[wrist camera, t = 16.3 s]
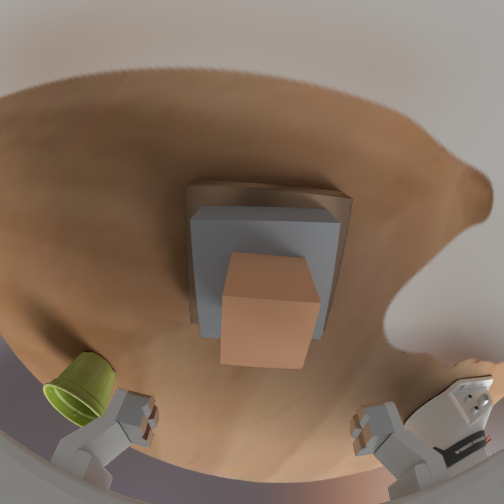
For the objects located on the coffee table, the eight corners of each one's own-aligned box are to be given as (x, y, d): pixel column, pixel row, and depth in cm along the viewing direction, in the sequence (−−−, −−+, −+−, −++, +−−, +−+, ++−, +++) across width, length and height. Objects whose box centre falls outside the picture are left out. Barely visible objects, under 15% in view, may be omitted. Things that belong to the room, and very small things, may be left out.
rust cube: (304, 257, 17) (321, 302, 12) (293, 316, 18) (302, 369, 14) (232, 251, 17) (222, 295, 12) (228, 311, 18) (220, 364, 14)
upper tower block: (326, 208, 19) (340, 223, 16) (313, 312, 22) (321, 339, 19) (201, 206, 19) (190, 219, 16) (208, 310, 23) (201, 337, 19)
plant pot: (68, 364, 32) (44, 403, 24) (73, 329, 28) (41, 373, 20) (119, 395, 33) (101, 438, 25) (133, 366, 30) (110, 418, 22)
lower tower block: (339, 190, 22) (352, 199, 19) (317, 309, 27) (324, 331, 23) (196, 178, 22) (186, 185, 18) (197, 301, 26) (190, 323, 23)
